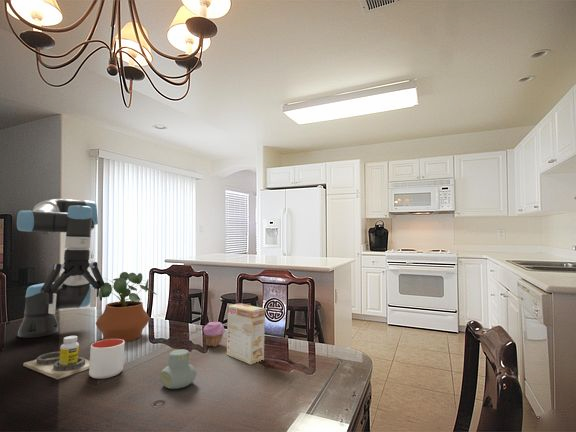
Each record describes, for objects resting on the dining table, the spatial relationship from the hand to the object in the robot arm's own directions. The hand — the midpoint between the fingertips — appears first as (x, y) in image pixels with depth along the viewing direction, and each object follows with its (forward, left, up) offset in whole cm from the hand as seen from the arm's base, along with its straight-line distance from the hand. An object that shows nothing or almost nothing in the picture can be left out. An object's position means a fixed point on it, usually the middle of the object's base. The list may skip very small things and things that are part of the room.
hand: (73, 309), depth 112 cm
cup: (-4, +15, -20) cm, 25 cm away
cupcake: (-45, +26, -20) cm, 56 cm away
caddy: (0, -5, -20) cm, 21 cm away
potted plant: (-35, -18, -20) cm, 44 cm away
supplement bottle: (0, 0, -19) cm, 19 cm away
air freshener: (-10, +42, -20) cm, 47 cm away
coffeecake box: (-40, +46, -20) cm, 64 cm away
